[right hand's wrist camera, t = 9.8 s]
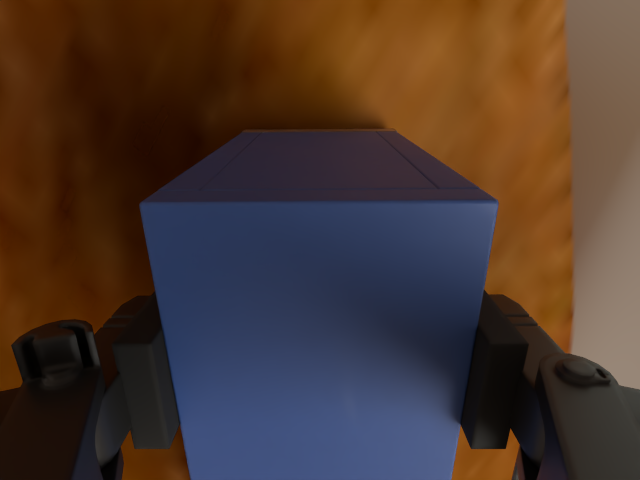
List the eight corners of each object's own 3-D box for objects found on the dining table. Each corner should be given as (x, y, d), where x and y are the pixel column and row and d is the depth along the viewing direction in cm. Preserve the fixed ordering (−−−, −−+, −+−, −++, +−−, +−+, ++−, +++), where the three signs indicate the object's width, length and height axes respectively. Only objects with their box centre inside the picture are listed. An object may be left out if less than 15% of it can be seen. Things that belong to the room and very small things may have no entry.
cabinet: (375, 420, 24) (418, 680, 14) (266, 421, 24) (227, 682, 14) (393, 128, 17) (502, 199, 7) (244, 129, 17) (136, 201, 7)
